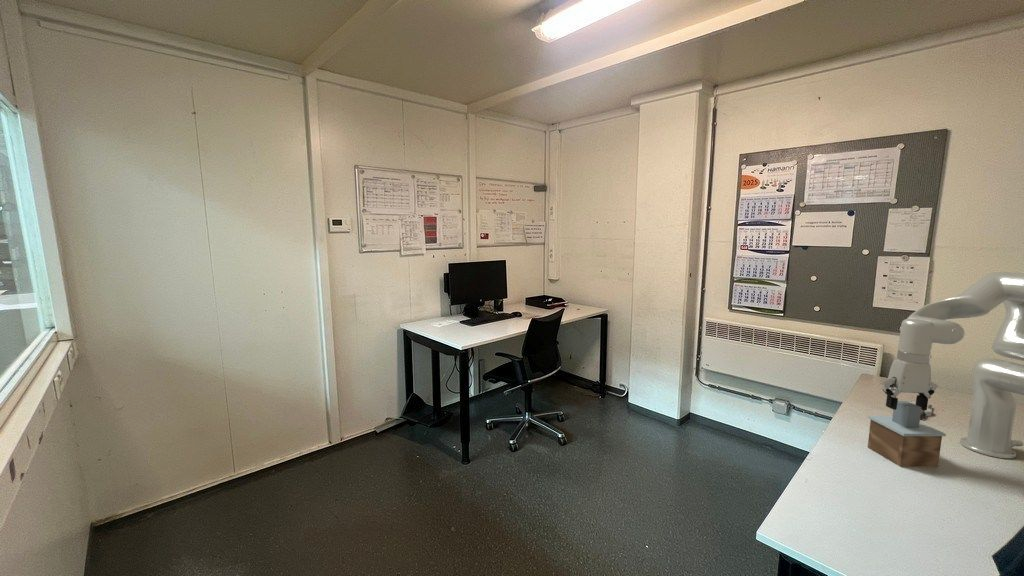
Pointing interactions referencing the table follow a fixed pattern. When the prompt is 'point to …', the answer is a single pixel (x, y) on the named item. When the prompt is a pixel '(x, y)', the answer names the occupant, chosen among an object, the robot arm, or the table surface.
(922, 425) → the lid
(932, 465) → the box
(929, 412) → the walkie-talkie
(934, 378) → the table surface
